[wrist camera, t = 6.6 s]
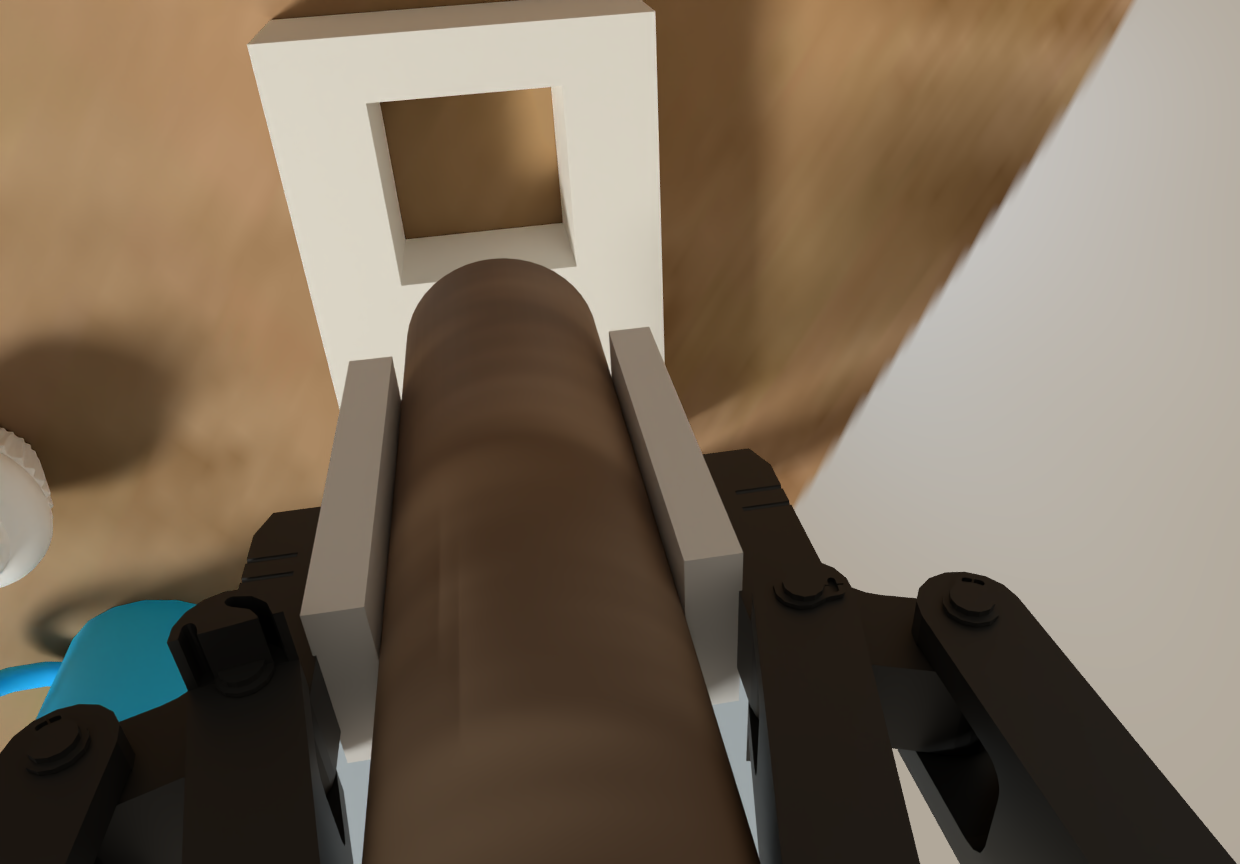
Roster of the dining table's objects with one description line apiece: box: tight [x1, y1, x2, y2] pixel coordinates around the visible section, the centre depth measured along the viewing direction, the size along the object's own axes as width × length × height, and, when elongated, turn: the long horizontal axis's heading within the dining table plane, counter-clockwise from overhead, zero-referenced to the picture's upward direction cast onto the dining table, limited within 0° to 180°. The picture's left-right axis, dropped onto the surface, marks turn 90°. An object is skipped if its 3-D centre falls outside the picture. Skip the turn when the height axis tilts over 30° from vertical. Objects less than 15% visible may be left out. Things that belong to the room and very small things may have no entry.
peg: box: [362, 258, 761, 864], centre depth 14 cm, size 4×4×14 cm
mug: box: [0, 600, 197, 722], centre depth 37 cm, size 12×8×8 cm
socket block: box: [247, 0, 665, 409], centre depth 31 cm, size 17×11×4 cm, turn 3°
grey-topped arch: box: [336, 678, 759, 864], centre depth 30 cm, size 9×14×17 cm, turn 93°
